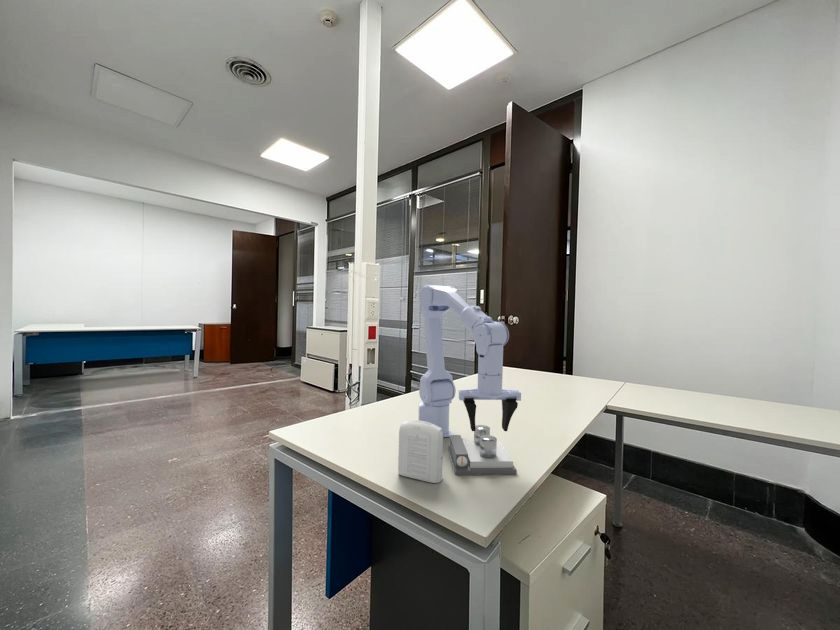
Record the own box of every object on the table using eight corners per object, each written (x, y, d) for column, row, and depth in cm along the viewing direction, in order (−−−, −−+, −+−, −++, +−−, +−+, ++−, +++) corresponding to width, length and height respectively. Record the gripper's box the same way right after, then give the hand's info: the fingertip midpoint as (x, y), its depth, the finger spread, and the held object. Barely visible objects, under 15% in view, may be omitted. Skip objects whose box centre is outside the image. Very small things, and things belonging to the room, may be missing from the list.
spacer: (480, 458, 77) (480, 441, 77) (478, 450, 81) (478, 434, 81) (497, 459, 76) (497, 442, 76) (495, 451, 80) (495, 435, 80)
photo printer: (445, 476, 73) (445, 421, 73) (439, 486, 69) (439, 428, 69) (403, 467, 77) (403, 415, 77) (395, 476, 73) (395, 421, 73)
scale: (455, 474, 74) (455, 456, 74) (448, 449, 87) (448, 433, 87) (516, 474, 74) (516, 456, 74) (500, 448, 87) (500, 433, 87)
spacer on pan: (475, 446, 83) (476, 430, 83) (472, 439, 87) (472, 425, 87) (491, 446, 83) (491, 430, 83) (487, 439, 87) (487, 425, 87)
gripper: (462, 376, 73) (461, 436, 74) (526, 377, 74) (524, 436, 74) (457, 370, 80) (456, 424, 81) (516, 370, 81) (514, 424, 81)
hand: (488, 429), depth 78 cm, fingers open, 7 cm apart
